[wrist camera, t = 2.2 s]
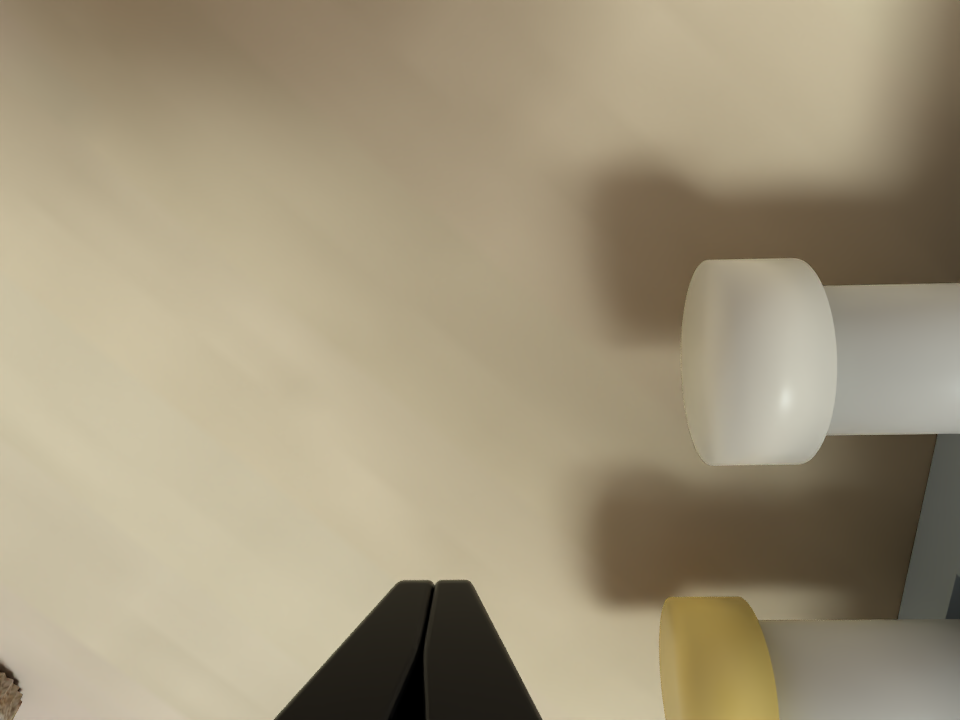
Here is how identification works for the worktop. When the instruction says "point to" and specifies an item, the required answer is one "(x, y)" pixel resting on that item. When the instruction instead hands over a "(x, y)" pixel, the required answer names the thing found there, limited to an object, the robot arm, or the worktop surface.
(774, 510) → the worktop surface
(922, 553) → the mount
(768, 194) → the worktop surface
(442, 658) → the robot arm
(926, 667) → the yellow capped tube
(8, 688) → the mushroom
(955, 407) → the knob
